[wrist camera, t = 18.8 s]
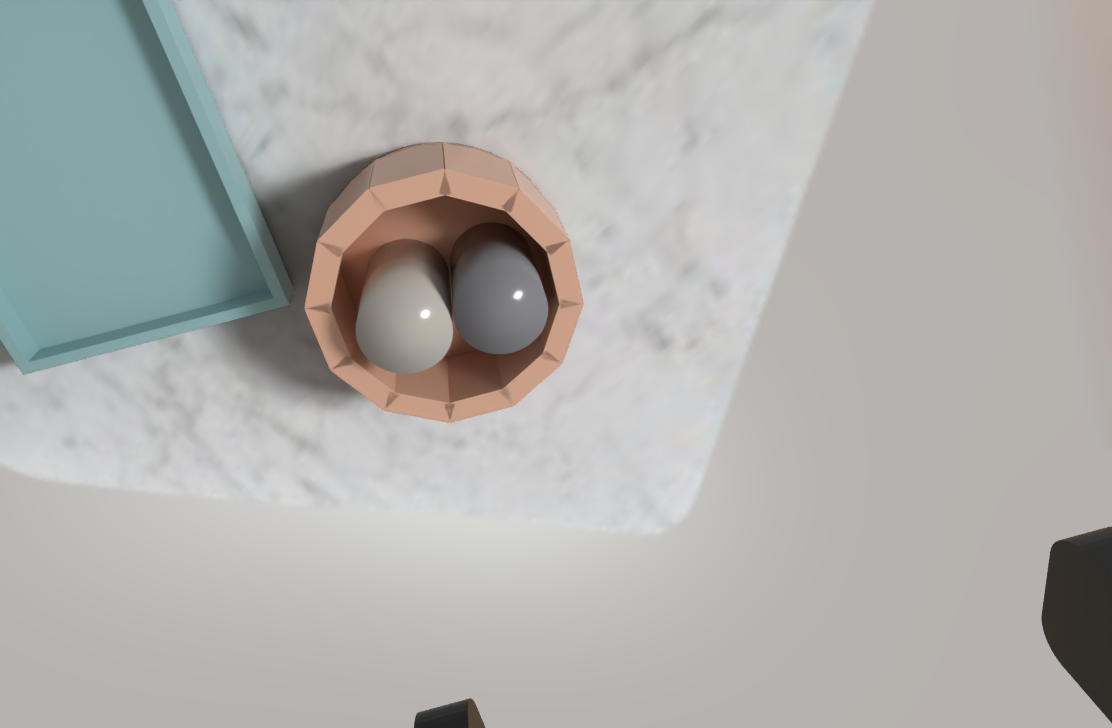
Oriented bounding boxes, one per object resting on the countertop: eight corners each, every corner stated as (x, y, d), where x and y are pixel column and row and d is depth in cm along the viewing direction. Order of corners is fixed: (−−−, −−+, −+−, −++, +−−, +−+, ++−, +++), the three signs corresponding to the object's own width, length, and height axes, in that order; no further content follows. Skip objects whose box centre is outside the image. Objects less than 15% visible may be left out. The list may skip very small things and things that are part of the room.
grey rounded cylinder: (439, 234, 36) (441, 281, 31) (521, 212, 36) (536, 256, 31) (462, 308, 37) (467, 364, 33) (540, 288, 37) (557, 340, 33)
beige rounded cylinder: (355, 248, 35) (343, 299, 31) (439, 231, 35) (440, 278, 31) (378, 323, 37) (370, 382, 32) (458, 306, 37) (462, 363, 33)
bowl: (284, 178, 34) (264, 214, 30) (532, 114, 34) (548, 141, 30) (368, 389, 40) (362, 446, 35) (581, 333, 40) (601, 382, 36)
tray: (-201, -22, 28) (-235, -19, 27) (127, -104, 29) (112, -106, 27) (39, 356, 36) (22, 374, 35) (294, 290, 37) (289, 305, 35)
